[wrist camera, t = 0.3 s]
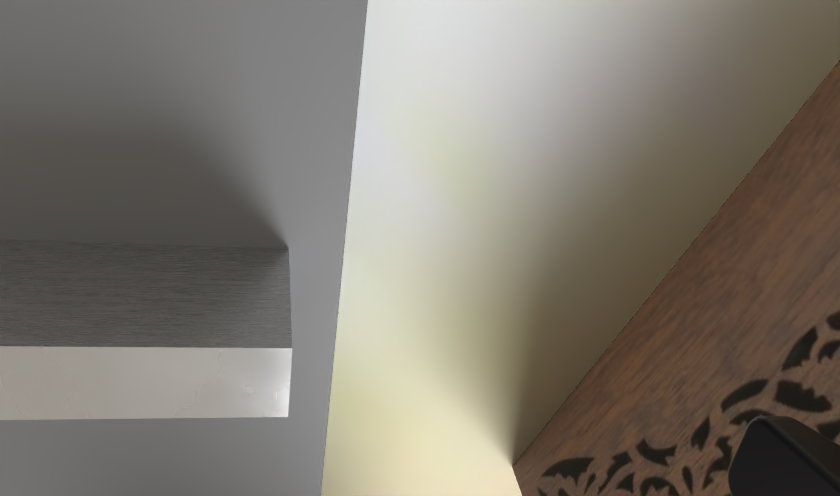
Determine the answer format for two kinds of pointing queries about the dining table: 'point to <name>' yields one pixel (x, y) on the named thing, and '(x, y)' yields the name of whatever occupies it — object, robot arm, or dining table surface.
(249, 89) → the stand
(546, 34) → the dining table surface
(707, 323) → the tissue box cover
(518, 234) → the dining table surface
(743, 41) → the dining table surface
